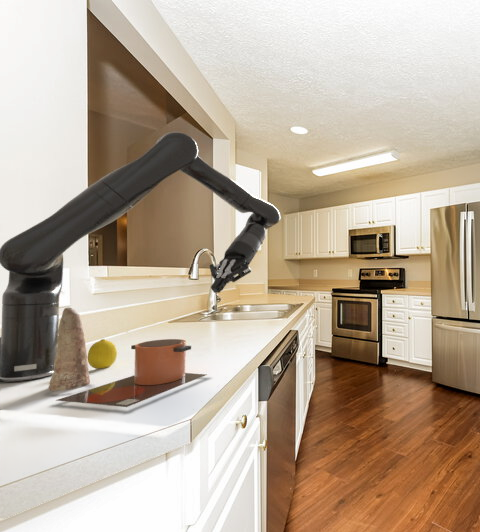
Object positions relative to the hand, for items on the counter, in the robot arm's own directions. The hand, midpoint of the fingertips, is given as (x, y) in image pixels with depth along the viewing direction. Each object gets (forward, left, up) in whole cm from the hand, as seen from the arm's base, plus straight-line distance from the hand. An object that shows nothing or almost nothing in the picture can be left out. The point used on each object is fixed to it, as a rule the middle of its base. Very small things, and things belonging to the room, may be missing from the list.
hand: (215, 290), depth 94 cm
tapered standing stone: (-14, -25, -20) cm, 35 cm away
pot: (0, -17, -19) cm, 25 cm away
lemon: (-22, -12, -20) cm, 32 cm away
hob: (0, -22, -20) cm, 30 cm away
